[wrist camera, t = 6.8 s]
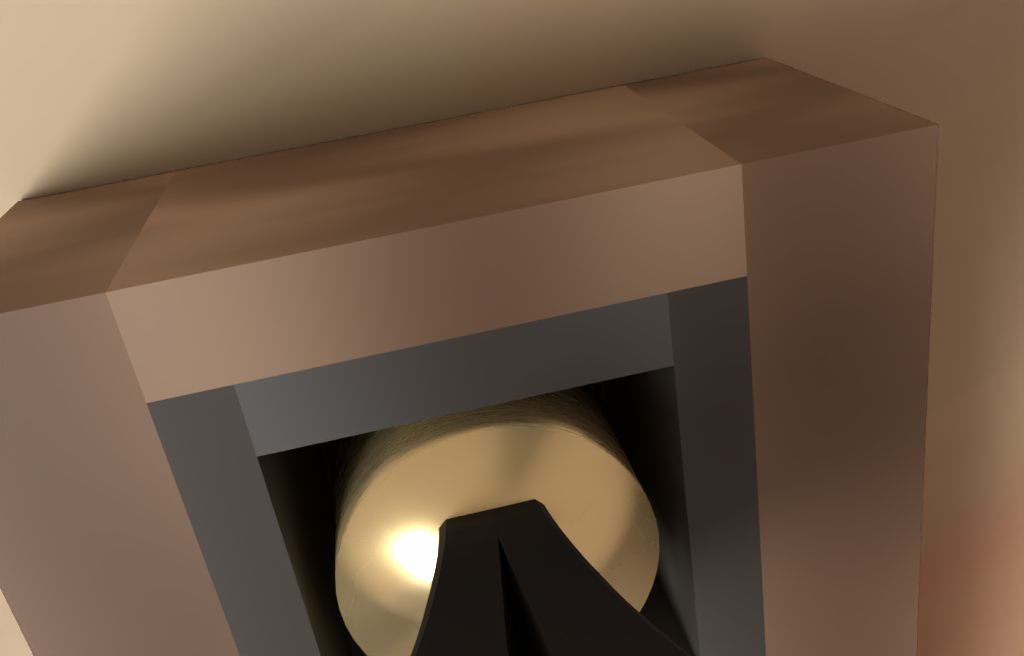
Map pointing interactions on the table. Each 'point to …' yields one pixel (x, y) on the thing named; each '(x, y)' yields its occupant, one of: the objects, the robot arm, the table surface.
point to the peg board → (482, 359)
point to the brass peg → (480, 503)
